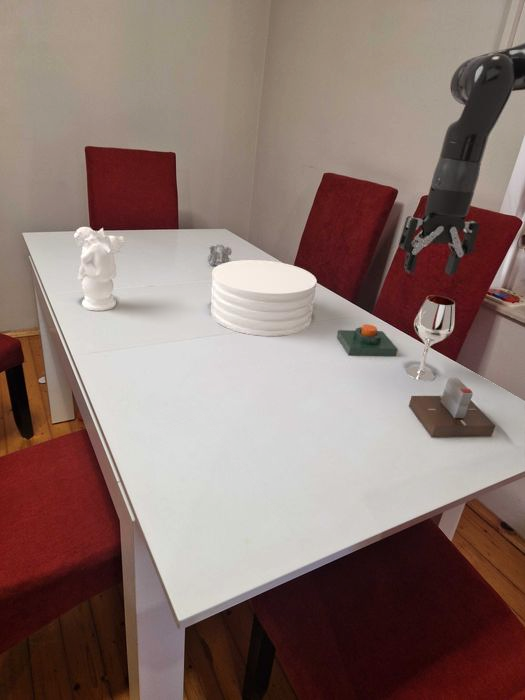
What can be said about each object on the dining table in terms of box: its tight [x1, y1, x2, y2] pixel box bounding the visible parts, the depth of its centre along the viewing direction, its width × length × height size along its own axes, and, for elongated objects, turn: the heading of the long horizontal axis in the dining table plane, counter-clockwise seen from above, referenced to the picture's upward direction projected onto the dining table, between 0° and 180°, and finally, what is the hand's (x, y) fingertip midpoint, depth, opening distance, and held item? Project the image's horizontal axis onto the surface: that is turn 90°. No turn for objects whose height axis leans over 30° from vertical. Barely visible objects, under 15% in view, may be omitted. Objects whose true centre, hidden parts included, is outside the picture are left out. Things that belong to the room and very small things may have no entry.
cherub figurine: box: [73, 226, 126, 312], centre depth 118 cm, size 12×12×22 cm
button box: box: [336, 326, 398, 357], centre depth 112 cm, size 12×10×4 cm
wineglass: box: [405, 294, 456, 382], centre depth 99 cm, size 8×8×18 cm
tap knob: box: [441, 377, 474, 418], centre depth 85 cm, size 6×2×6 cm, turn 7°
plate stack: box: [210, 259, 318, 337], centre depth 124 cm, size 28×28×12 cm
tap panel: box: [408, 395, 497, 438], centre depth 87 cm, size 12×10×3 cm
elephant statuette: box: [207, 244, 233, 266], centre depth 162 cm, size 9×12×8 cm
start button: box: [361, 323, 378, 336], centre depth 111 cm, size 4×4×2 cm
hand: (429, 273), depth 89 cm, fingers open, 8 cm apart
